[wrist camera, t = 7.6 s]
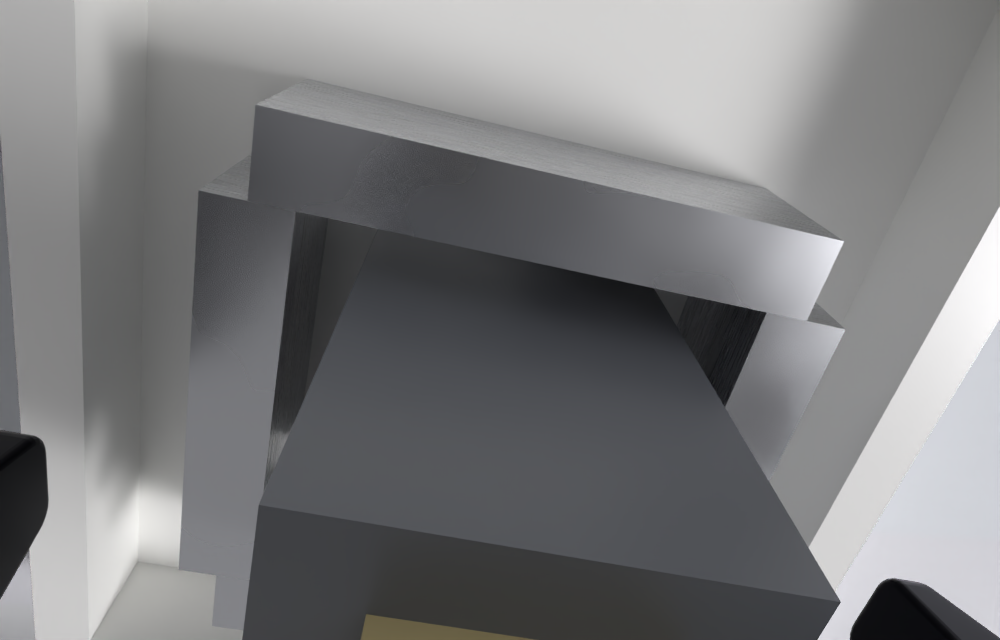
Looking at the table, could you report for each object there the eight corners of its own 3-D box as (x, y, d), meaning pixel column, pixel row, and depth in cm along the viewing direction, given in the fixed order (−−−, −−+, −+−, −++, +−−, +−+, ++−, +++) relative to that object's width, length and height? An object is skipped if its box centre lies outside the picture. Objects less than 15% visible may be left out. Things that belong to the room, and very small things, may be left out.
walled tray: (702, 662, 14) (734, 758, 12) (99, 574, 13) (37, 670, 11) (1100, -102, 8) (1268, -127, 7) (87, -423, 7) (-49, -566, 5)
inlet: (634, 575, 13) (664, 688, 11) (229, 510, 12) (175, 621, 10) (797, 195, 10) (885, 250, 8) (268, 69, 9) (204, 92, 7)
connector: (572, 488, 12) (674, 1020, 6) (340, 446, 11) (178, 981, 5) (648, 278, 10) (904, 710, 4) (381, 218, 10) (214, 608, 4)
